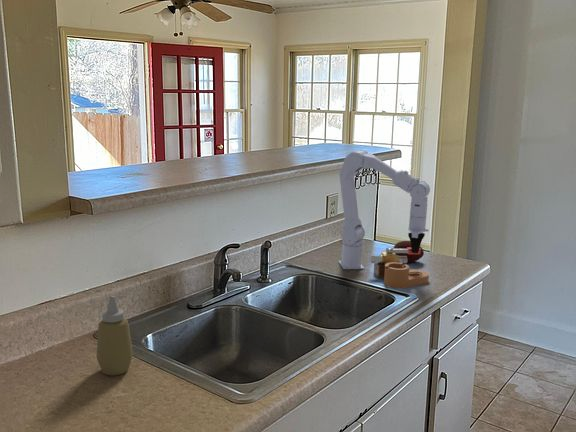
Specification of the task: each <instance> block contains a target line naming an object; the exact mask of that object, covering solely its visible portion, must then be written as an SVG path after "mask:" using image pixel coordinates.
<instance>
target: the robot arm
mask: <svg viewBox="0 0 576 432" xmlns="http://www.w3.org/2000/svg"><path fill="white" fill-rule="evenodd" d="M362 169H373V170H376V171H377V172H379V173H381V174H382V175H384V176H387V177H388V178H389V179H391V181H392V184H393V185H395V186H396V187H398V188H399V189H401V190H402V191H405V192H406V193H408V194H409V195H410V197H411V201H410V210H409V220H408V221H409V222H408V223H409V224H408V229H407V230H408V231H409V232H408V233H407V235H408V238H409V241H410V242H411V249H412V253H418V252H419V248H420V247H421V244H422V241H423V239H424V237H425V235H426V232H429V230H430V228H426V224H427V211H428V196H429V194H430V192H431V187H430V185H429V184H428V183H427V182H426V181H423V180H421V179H420V178H416V177H414V176H412V175H411V174H409V171H408V170H403V169H401V170H396V169H395V168H393V167H392V166H390V165H389V164H387V163H386V162H384V161H382V160H381V159H380V158H378V157H377V156H376V155H374V154H372V153H370V152H368V151H367V150H363V149H360V150H358V151H352V152H349V154H347V155H346V157H344V159H343V164H342V166H341V168H340V170H339V181H340V182H339V183H340V189H341V199H342V200H341V201H342V208H343V216H344V221H343V224H342V233H341V237H340V238H341V241H342V245H341V253H340V254H341V255H340V256H341V257H340V260H338V264H339V265H340V267H342V269H343V270H364V269H365V267H364V266H363V264H362V256H363V255H362V254H363V241H362V240H363V239H364V238H365V235H366V232H365V229H364V227H363V226H362V225H363V224H362V221H361V219H360V217H359V209H358V201H357V199H358V198H357V192H356V191H357V190H356V182H355V176H356V175H357V174H358V173H359V172H360V170H362ZM420 180H421V181H420Z"/></svg>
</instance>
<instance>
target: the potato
mask: <svg viewBox="0 0 576 432" xmlns="http://www.w3.org/2000/svg"><path fill="white" fill-rule="evenodd" d="M407 247H411V242H410V240H401V241H399V242H396V244H394V245H393V249H407ZM420 249H421V253H420V254H408V253H395V254H396V255H398V256H407V263H413V262H417V261H419V260H420V259H422V258H423V256H424V254H425V253H424V252H425V251H424V249H423V247H422V246H420ZM407 263H406V264H407Z"/></svg>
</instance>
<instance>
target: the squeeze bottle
mask: <svg viewBox="0 0 576 432" xmlns="http://www.w3.org/2000/svg"><path fill="white" fill-rule="evenodd" d="M101 314H102V320H100V322H99V323H98V325H97V326H98V328H97V331H98V332H97V344H96V360H97V363H98V364H99V368H100V370H101V371H102V373H103V374H105V375H107V376H120V375H122V374H125V373H126V372H128V370H129V368H130V365H131V362H132V359H133V355H134V352H133V344H132V337H131V331H130V324H129V320H128V319H127V318H125V313H124V310H123V309H121V308H119V306H118V302H117V299H116V296H115V295H111V296H109V297H108V304H107V309H106V310H103V312H102V313H101Z"/></svg>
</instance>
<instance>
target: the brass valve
mask: <svg viewBox="0 0 576 432" xmlns="http://www.w3.org/2000/svg"><path fill="white" fill-rule="evenodd" d="M390 262H398V263H403V264H407V256H398V255H396V254H395V253H393V254H387V253H386V251H381V253H380V255H371V256H370V264H373V274H374V275H375V276H376V277H377V279H384V274H385V264H386V263H390Z"/></svg>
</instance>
